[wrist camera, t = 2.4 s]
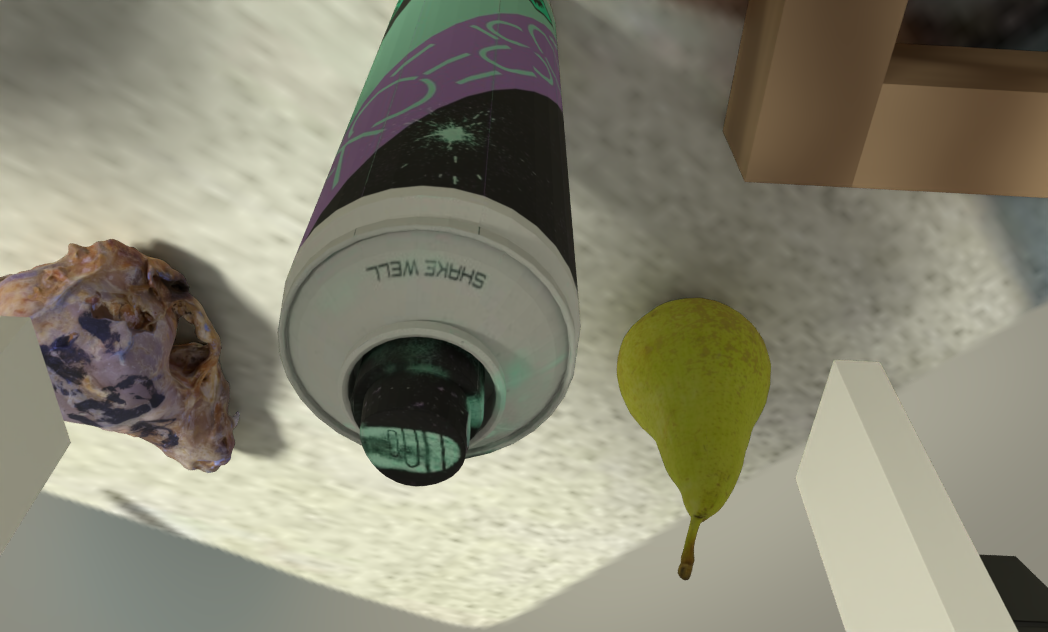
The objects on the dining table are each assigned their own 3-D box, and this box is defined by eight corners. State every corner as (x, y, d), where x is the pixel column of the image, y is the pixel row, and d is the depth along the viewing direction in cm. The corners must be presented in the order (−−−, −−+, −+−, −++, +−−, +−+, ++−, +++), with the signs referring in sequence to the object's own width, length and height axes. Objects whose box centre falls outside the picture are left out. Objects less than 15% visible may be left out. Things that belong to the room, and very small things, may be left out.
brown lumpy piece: (284, 422, 41) (250, 526, 36) (132, 451, 42) (78, 556, 37) (160, 195, 34) (97, 284, 29) (-18, 236, 35) (-109, 329, 30)
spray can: (586, 56, 30) (654, 488, 14) (456, 137, 32) (384, 603, 16) (496, -88, 28) (453, 239, 12) (360, 9, 30) (156, 412, 13)
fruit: (771, 276, 36) (862, 501, 26) (721, 385, 39) (785, 620, 29) (633, 250, 35) (674, 470, 25) (594, 363, 38) (617, 597, 29)
